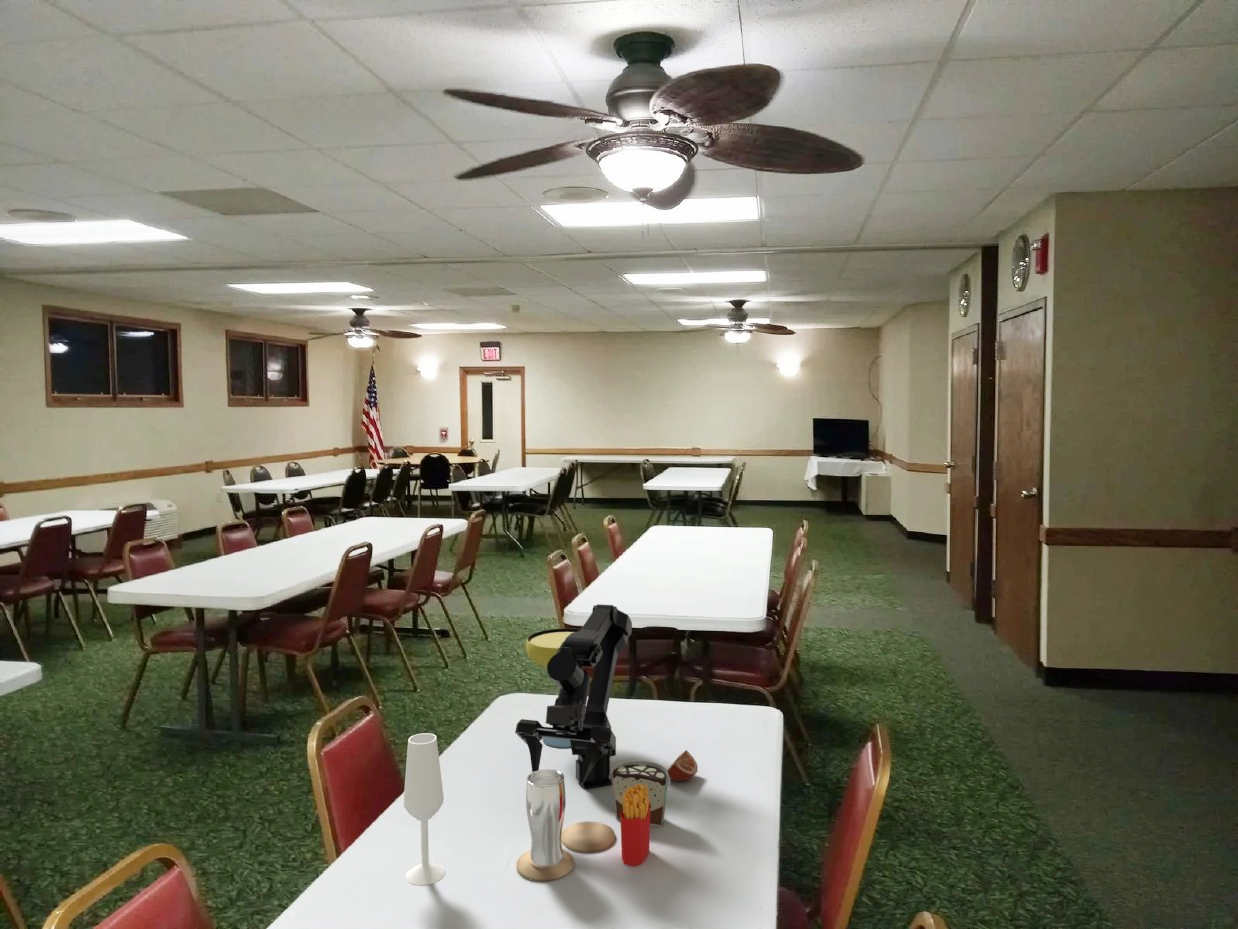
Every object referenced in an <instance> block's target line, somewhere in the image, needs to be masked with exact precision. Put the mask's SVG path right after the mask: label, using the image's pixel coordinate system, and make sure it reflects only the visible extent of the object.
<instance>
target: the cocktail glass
mask: <svg viewBox="0 0 1238 929" xmlns="http://www.w3.org/2000/svg"><path fill="white" fill-rule="evenodd" d="M581 629H582V628H581ZM581 629H580V628H566V627H565V628H552V629H545V630H544V629H543V630H540V631H538V632H534V633H532V634H530V635H529V636H528V637H527V640H526V644H525V647H526V648H525V650H526V654H527V656H528V657H529V659H530V660H531V661H532V662H534V663H535V665H538V666H541V667H543V668H545V669H547V664H548V662H549V661H550V659H551V658H552V657H553V656H554V655H555V654H556V653H557V651H558V650H559V648H560V646H561V644H562V643H563V642H564V641H565V639H566V638H567V637H568V636H569V635H570V634H571V633H574V632H578V631H580V630H581ZM556 734H561V733H556ZM562 734H563V733H562ZM569 735H570V734H569ZM542 741H543V743H544V744H545V745H546V746H549V747H550V748H551V747H552V748H555V747H556V749H569V748H571V743H570V740H567V739H557V738H548V737H543V739H542Z"/></svg>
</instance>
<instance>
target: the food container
mask: <svg viewBox="0 0 1238 929" xmlns="http://www.w3.org/2000/svg"><path fill="white" fill-rule="evenodd" d="M667 770H668V769H667V768H666V767H664V766H663V765H662V764H659V763H657V762H654V761H648V760H629V761H624V762H620V763H618V764H615V765H614V766H612V768H610V775H609V779H610V778H611V780H612V784H611V785H612V790H613V801H614V802H613V803H614V809H615V819H616V820H618V821H621V819H620V813H621V812H622V810H623V800H622V797H623V794H624V793H626V791H625V789H627V787H630V788H631V786H633V787H634V785H635V784H636V785H637V786H638V784H641V785H642V786H643V787H645V785H647V786H648V800H649V802H650V826H653V827H659V828H660V827H663V826H664V823H665V822H664V820H665V810H666V802H667V790H668V788H671V785H672V783H671V779H670V777H669V774H668V772H667ZM644 791H645V789H644Z"/></svg>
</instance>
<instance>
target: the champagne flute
mask: <svg viewBox="0 0 1238 929" xmlns="http://www.w3.org/2000/svg"><path fill="white" fill-rule="evenodd" d="M407 739H408V740H407V751H406V762H405V763H406V765H405V777H404V778H405V779H404V789H403V790H404V793H403V807H404V809H405V810H406V812H407V813H408V814H409V815H410V817H412V818H415V820H418V821H419V822H420V844H421V845H420V846H421V850H420V851H421V863H419V864H418V865H415V866H414V867H412V868H411V869H409V870H408V871H406V874H405V880H406V882H408V883H409V884H411V885H414V886H427V885H432V884H434V883H436V882H439V881H440V880H442V879H443V877H445V874H446V870H445V868H444V867H443V865H440V864H437V863H432V862H429V860H430V859H429V855H430V854H429V852H430V851H429V820H430V819H432V818H433V816H434V815H436V814H437V813H438V812H439V811H440V809H441V807H442V806H443V804H444V799H445V798H444V789H443V781H442V773H441V764H440V756H439V755H440V754H439V748H438V746H439V745H438V739H437V735H436V734H434V733H431V732H430V733H427V732H426V733H417V734H413V735H412V736H410V737H409V738H407Z"/></svg>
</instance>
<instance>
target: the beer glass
mask: <svg viewBox="0 0 1238 929" xmlns="http://www.w3.org/2000/svg"><path fill="white" fill-rule="evenodd" d="M525 788H526V789H525V809H526V818H527V821H528V826H529V827H528V828H529V833H530V839H531V846H530V850H531V852H530V858H529V861H530V864H531V865H532V866H534V867H536V868H539V869H551V868H555V867H557V866H559V865H560V864H562V862H563V861H564V854H563V850H564V849H563V843H562V841H561V837H562V832H563V830H564V829H563V827H564V823H565V815H566V808H567V806H566V804H567V801H566V798H567V797H566V785H565V775H564V773H562V772H561V771H558V770H556V769H547V768H546V769H539V770H538V771H535V772H532V771H531V773H529V774H528V775H527V777H526V787H525Z"/></svg>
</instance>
